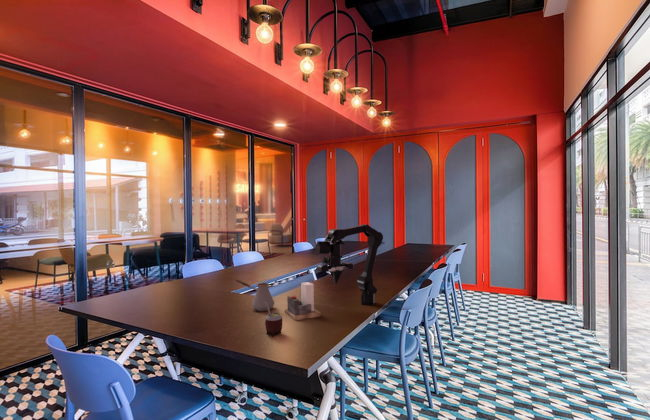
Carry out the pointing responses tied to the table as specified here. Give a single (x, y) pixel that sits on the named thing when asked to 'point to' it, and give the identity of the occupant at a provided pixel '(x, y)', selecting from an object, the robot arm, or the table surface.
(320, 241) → the robot arm
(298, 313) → the stepped stone block model
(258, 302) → the coffee pot
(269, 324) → the mate gourd
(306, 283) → the white tall block
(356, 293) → the table surface
